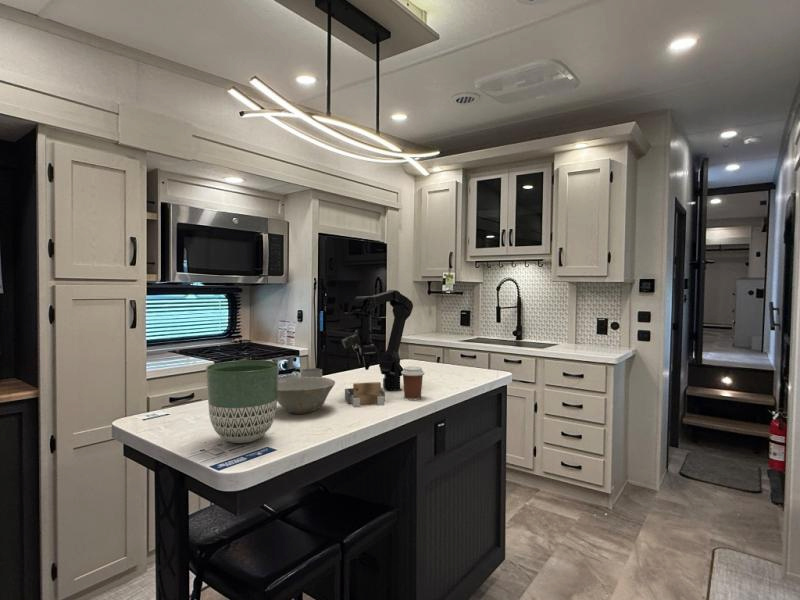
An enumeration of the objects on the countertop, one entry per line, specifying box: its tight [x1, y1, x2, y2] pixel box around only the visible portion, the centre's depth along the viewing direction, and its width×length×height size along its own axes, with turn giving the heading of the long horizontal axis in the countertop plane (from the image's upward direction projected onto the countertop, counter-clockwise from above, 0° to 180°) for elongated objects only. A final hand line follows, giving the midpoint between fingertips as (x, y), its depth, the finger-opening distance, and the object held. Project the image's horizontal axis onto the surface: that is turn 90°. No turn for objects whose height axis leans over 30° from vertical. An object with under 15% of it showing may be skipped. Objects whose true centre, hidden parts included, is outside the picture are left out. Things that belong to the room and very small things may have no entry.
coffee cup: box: [401, 365, 425, 401], centre depth 184 cm, size 9×9×12 cm
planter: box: [205, 359, 280, 444], centre depth 133 cm, size 20×20×21 cm
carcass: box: [344, 387, 386, 408], centre depth 178 cm, size 14×12×4 cm
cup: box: [300, 367, 323, 378], centre depth 189 cm, size 8×8×10 cm
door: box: [352, 381, 382, 407], centre depth 174 cm, size 10×3×8 cm, turn 105°
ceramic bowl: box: [277, 376, 336, 415], centre depth 165 cm, size 22×23×10 cm
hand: (364, 367), depth 186 cm, fingers open, 9 cm apart
